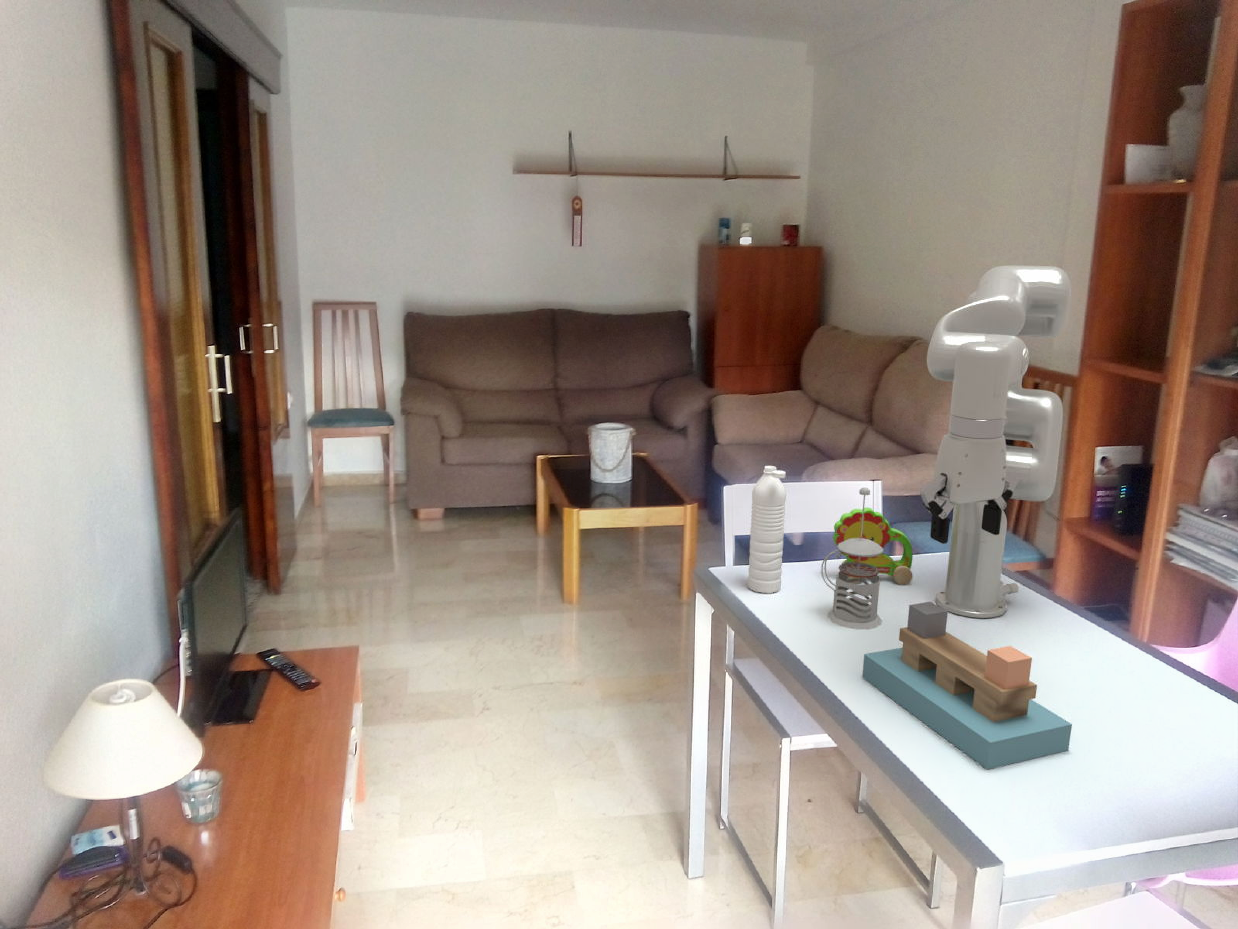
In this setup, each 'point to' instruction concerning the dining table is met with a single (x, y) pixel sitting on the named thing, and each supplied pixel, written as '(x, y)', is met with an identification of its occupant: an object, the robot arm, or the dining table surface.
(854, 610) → the french press
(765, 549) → the water bottle
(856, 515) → the toy lion
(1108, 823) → the dining table surface
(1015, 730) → the block
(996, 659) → the pink cube
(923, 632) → the block
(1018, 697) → the pallet
